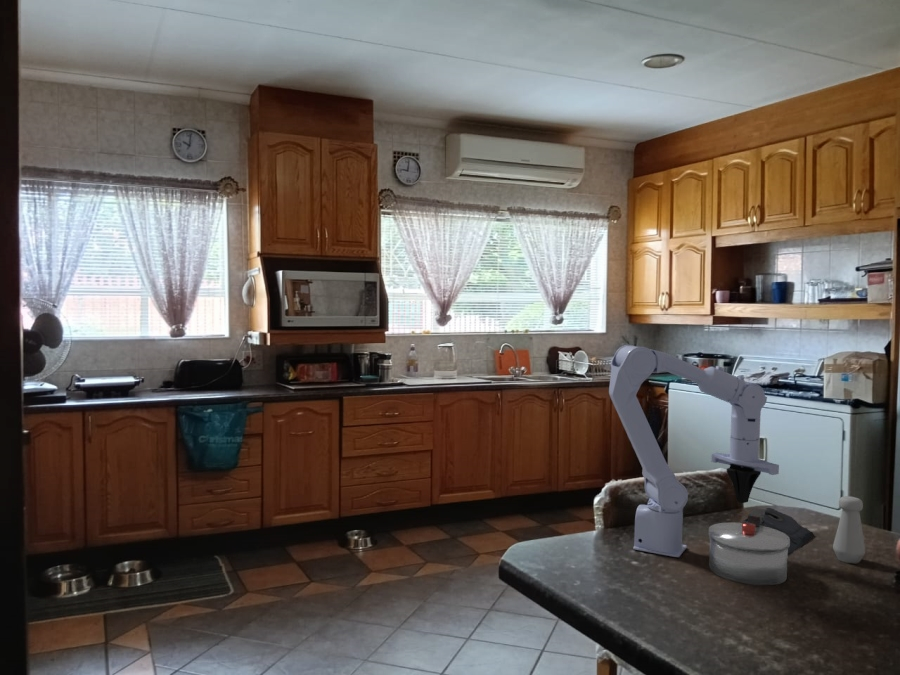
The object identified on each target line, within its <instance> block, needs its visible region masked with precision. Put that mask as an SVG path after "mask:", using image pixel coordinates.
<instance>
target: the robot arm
mask: <svg viewBox="0 0 900 675" xmlns="http://www.w3.org/2000/svg"><path fill="white" fill-rule="evenodd" d="M610 370H611V371H610V377H609V378H610V379H609V388H608V394H609V397H610V399H611V400H610V401H611V402H612V404H613V406H614V409H615V410H616V412H617V414H618V417H619V419H620V421H621V424H622V426H623V428H624V430H625V432H626V434H627V438H628V440H629V441H630V443H631V447H632V448H633V450H634V452H635V454H636V457H637V459H638V461H639V463H640V465H641V468H642V470H641V471H642V472H641V474H642V476H643V479H644V491H645V493H646V495H647V496H648V501H647V504H639V505H638V506H637V508H636V511H635V518H634V539H633V540H634V543H633V545H634V546H633V550H636V551H640V552H647V553H653V554H655V555H656V554H657V555H661V556H669V557H673V558H680V557H681V556H682V554H683V553H684V552H685V550H686V549H687V548H688V547H687V544H683V523H684V522H683V520H684V519H683V518H684V514H683V513H684V507H686V504H687V502H688V499H689V495H688V494H689V493H688V490H687V487H685V486H684V484H682V483H681V482H680V481H679V480H678V479H677V477H676V475H675V473H674V471H673V470H672V469H671V467H670V466H669V464H668V463H667V461H666V459H665V457H664V454H663V453H662V450H661V448H660V446H659V444H658V441H657V439H656V437H655V434H654V433H653V432H654V431H653V430H652V428H651V426H650V423H649V422H648V419H647V417H646V414H645V413H644V409H642V406H641V404H640V401H639V398H638V397H637V394H638V391H639V390H640V388H641V386H642V384H643V383H644V382H645V381H646V380H647V379H648V378H649V376H651V375H652V373H656V374H659V373H663V372H667V373H669V374H672V375H675V376H677V377H680V378H683V379H686V380H688V381H691V382H694V383H696V385H697V386H698V387H697V388H698V389H699V391H700V392H701V393H704V394H707V395H709V396H711V397H714V398H716V399H718V400H721V401H723V402H726V403H728V404H730V405H731V415H730V437H729V438H730V439H729V453H722V452H711V456H710V458H711V460H710V462H711V463H715V464H717V463H719V464H722V465H729V467H728V468H726V474H727V475H728V476H729V477H728V478H729V479H730V480H731V483H732V486H733V489H734V494H735V497H736V498H735V499H736V502H737V503H740V504H745V503H748V502H749V499H750V494H751V492H752V489H753V488H754V485H755V484H756V481H757V480H758V478H759V477H760V475H761V474H762V473H766V474H768V475H772V476H775V475H779V470H780V465H779V464H776V463H773V462H769V461H766V460H763V459H760V456H759V455H760V439H761V438H760V436H761V413H762V409H763V407H764V406H765V405H766V403H767V400H768V396H766V394H765V390H764V388H763V387H762V386H761V385H760V384H757V383H755V382H750V381H745V377H744V376H742V375H737V376H736V375H733V374H731V373H728V372H726V371H725V368H724V367H721V366H719V365H715V367H714V366H708V367H706V368H704V369H702V368H701V367H698V366H696V365H694V364H692V363H689V362H687V361H685V360H683V359H681V358H678V357H675V355H672V354H669V353H667V352H664V351H659V350H656V349H650V348H648V347H646V346H636V345H633V344H625V345H621V346H620V347H619V348H618V349H617V350H616V352H615V353H614V355H613V357H612V359H611V360H610Z"/></svg>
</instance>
